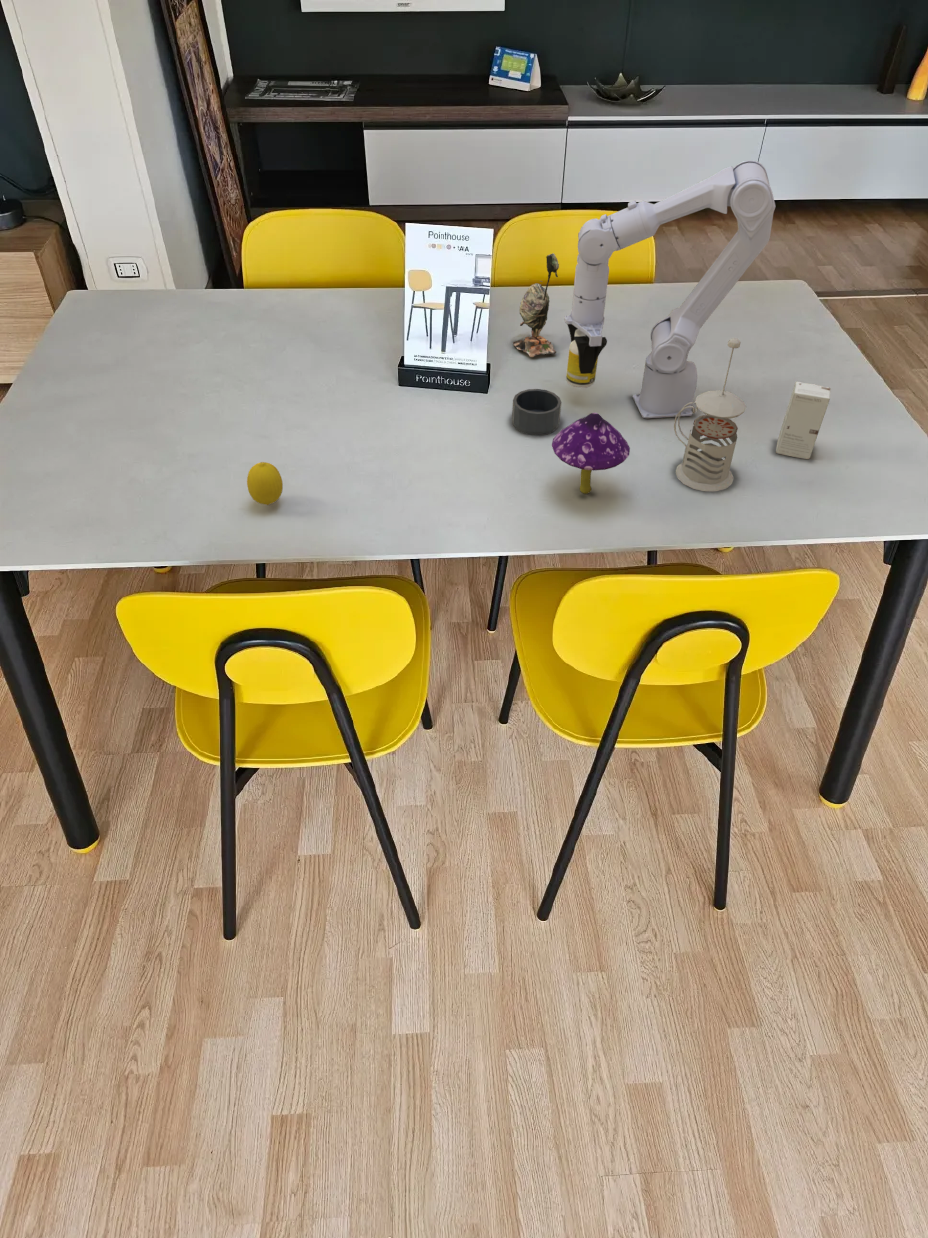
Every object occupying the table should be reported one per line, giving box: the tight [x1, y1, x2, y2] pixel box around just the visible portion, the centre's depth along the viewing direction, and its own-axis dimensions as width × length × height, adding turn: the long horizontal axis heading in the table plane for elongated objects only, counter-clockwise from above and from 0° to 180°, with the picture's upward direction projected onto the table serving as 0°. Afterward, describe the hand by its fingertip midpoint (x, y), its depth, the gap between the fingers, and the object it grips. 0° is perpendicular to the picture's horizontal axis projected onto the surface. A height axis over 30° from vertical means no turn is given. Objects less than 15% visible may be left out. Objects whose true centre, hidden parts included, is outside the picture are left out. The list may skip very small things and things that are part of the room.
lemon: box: [246, 461, 284, 506], centre depth 151 cm, size 6×6×8 cm
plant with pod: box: [512, 253, 560, 358], centre depth 188 cm, size 8×11×20 cm
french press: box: [673, 337, 747, 492], centre depth 153 cm, size 10×12×25 cm
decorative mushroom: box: [551, 412, 631, 495], centre depth 152 cm, size 12×12×15 cm
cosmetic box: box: [775, 381, 832, 460], centre depth 164 cm, size 6×4×12 cm
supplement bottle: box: [565, 329, 599, 389], centre depth 173 cm, size 5×5×10 cm
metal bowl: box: [511, 388, 562, 436], centre depth 171 cm, size 9×9×4 cm
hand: (582, 364), depth 174 cm, fingers closed on supplement bottle, 5 cm apart
